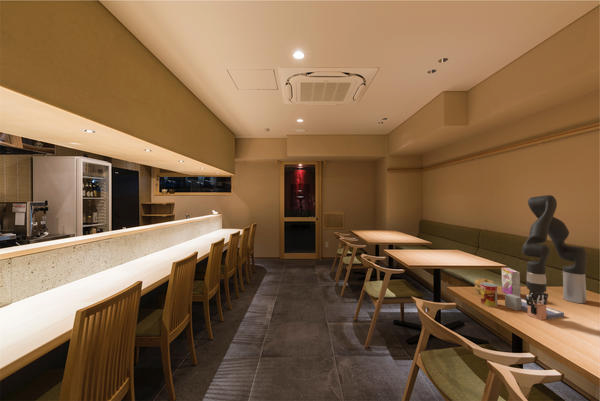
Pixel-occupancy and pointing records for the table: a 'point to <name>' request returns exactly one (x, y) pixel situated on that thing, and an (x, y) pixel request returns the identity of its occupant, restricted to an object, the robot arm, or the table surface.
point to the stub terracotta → (538, 311)
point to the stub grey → (513, 302)
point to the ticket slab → (550, 312)
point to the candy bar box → (511, 281)
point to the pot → (478, 284)
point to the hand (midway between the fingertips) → (536, 313)
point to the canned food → (489, 294)
